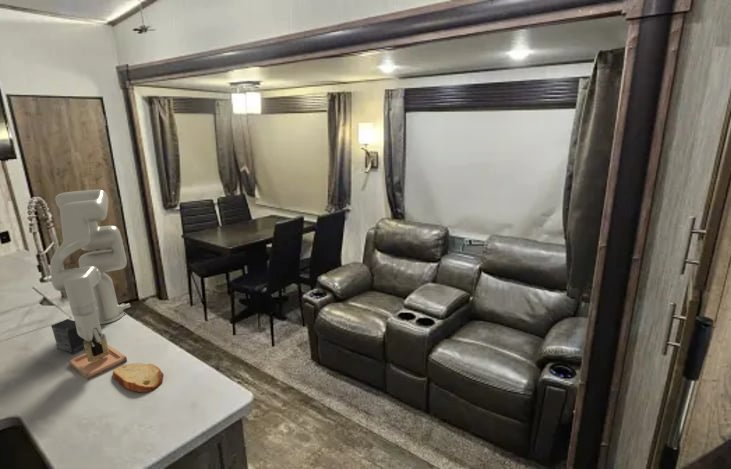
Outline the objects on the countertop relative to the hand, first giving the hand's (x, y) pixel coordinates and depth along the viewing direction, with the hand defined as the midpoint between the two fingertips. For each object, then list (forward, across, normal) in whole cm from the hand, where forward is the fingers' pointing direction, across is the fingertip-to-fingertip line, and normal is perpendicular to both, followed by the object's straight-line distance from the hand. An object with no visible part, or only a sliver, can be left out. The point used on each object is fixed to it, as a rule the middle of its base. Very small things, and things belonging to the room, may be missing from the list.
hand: (95, 352), depth 145 cm
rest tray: (+4, 0, 0) cm, 4 cm away
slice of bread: (+5, +23, +3) cm, 23 cm away
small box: (+5, -20, -1) cm, 21 cm away
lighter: (+3, 0, +1) cm, 3 cm away
